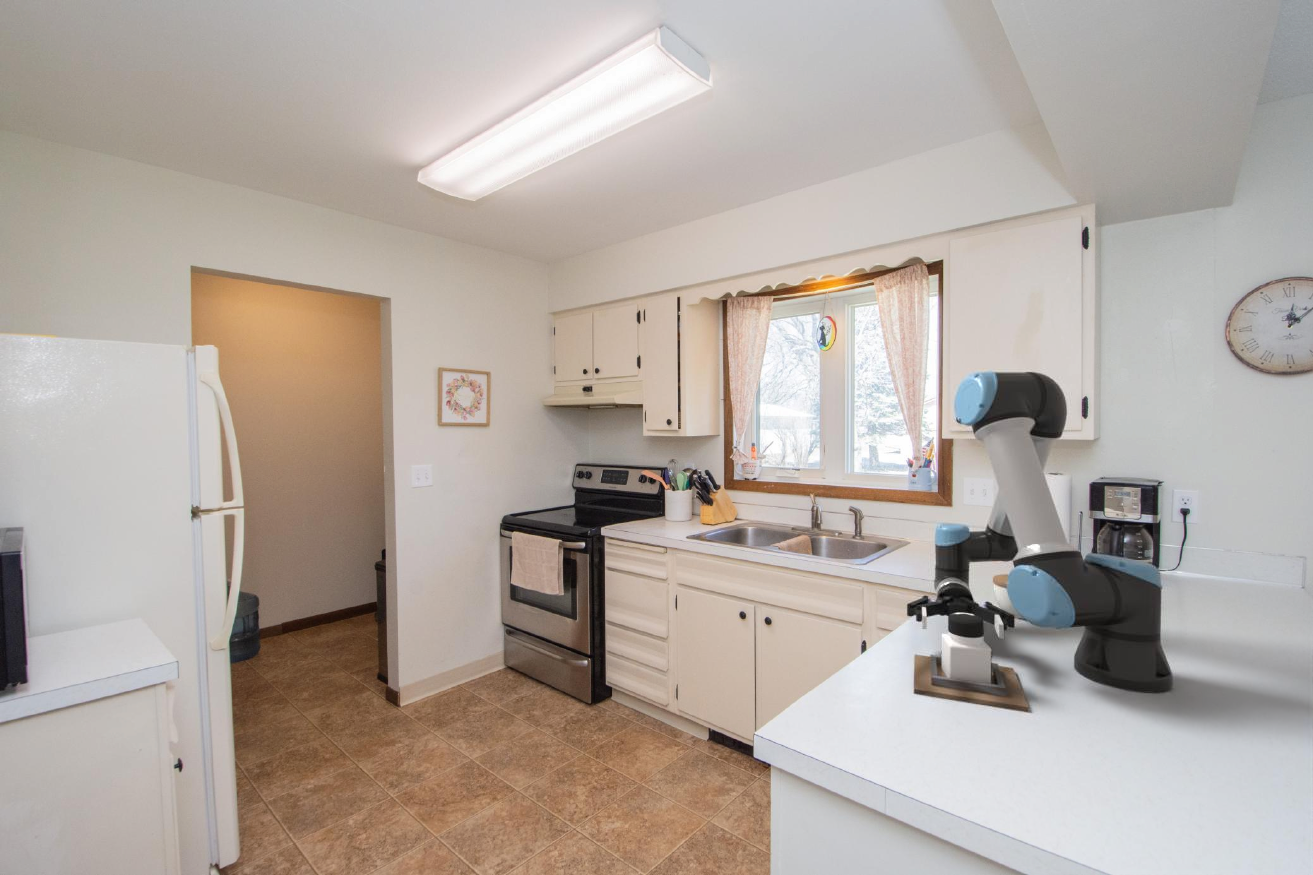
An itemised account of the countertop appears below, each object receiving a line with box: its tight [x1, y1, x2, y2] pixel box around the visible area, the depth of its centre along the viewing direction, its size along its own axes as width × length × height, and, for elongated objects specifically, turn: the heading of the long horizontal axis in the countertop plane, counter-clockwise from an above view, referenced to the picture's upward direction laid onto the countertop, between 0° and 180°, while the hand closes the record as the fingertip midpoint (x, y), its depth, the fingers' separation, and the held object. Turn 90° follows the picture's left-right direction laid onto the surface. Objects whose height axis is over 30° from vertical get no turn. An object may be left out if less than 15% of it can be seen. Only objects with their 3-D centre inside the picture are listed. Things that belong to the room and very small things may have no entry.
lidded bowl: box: [992, 573, 1025, 620], centre depth 153 cm, size 13×13×11 cm
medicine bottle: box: [941, 613, 992, 684], centre depth 113 cm, size 7×7×12 cm
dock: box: [913, 654, 1029, 713], centre depth 113 cm, size 18×18×2 cm
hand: (962, 626), depth 117 cm, fingers open, 13 cm apart
